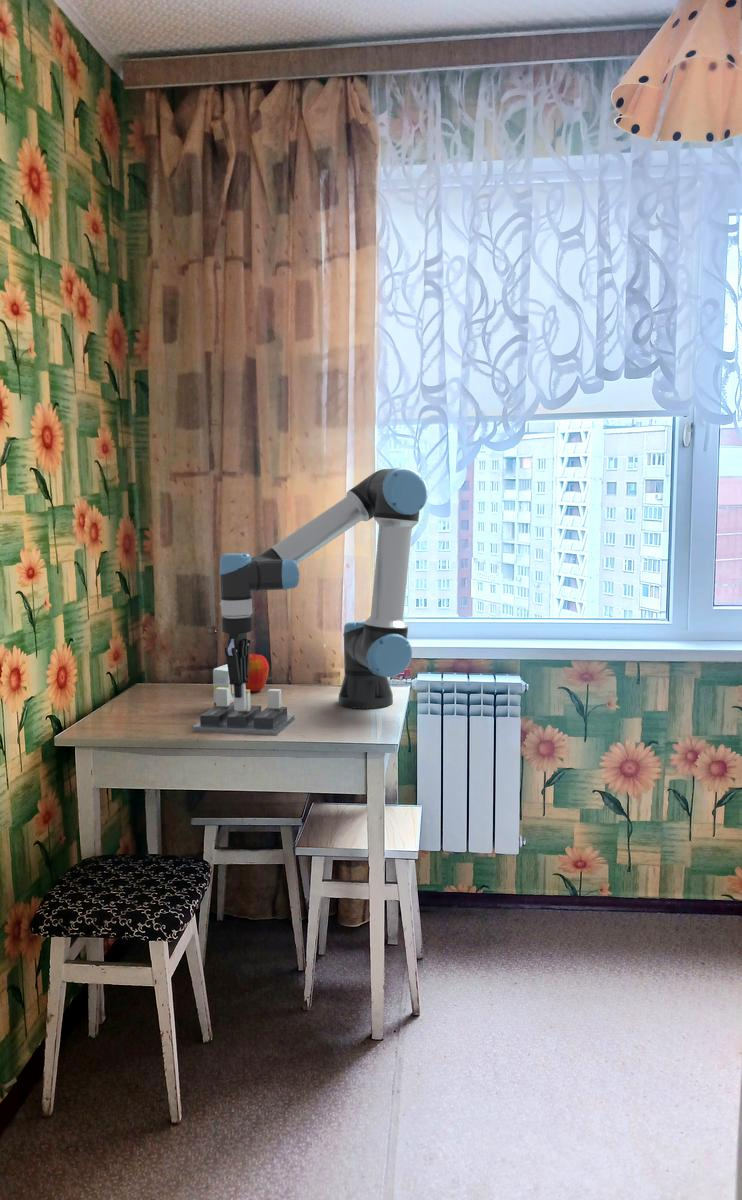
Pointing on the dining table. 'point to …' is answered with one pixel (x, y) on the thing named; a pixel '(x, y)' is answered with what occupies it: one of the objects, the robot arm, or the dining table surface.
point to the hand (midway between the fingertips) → (240, 709)
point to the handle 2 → (274, 698)
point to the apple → (257, 672)
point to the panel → (245, 729)
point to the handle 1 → (222, 696)
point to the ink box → (222, 681)
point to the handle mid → (247, 701)
